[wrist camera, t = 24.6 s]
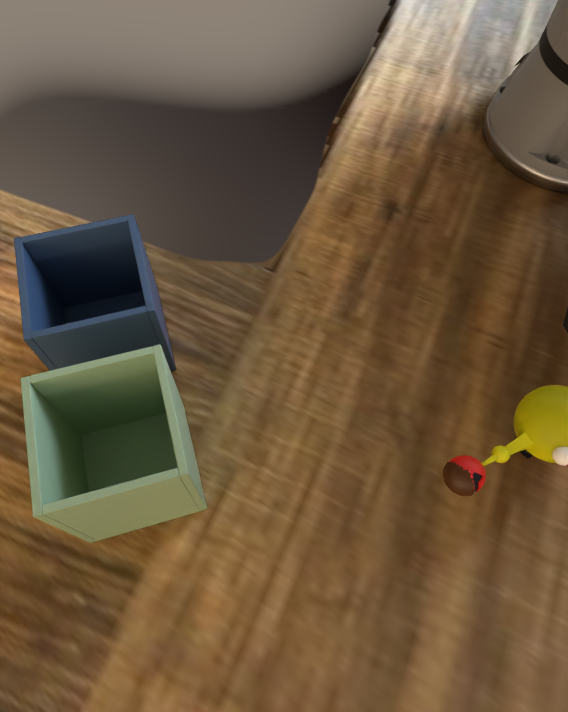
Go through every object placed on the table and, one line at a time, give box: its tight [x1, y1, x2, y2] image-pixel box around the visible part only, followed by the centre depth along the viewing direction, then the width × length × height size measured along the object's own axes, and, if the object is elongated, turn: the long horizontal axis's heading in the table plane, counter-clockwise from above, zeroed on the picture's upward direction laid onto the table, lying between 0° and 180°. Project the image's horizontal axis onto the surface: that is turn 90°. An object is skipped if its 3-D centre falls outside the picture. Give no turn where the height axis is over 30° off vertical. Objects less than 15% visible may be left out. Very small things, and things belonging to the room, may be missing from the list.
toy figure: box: [443, 385, 568, 496], centre depth 37 cm, size 18×6×7 cm, turn 118°
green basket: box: [21, 345, 207, 543], centre depth 34 cm, size 8×8×10 cm
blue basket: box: [14, 215, 176, 371], centre depth 39 cm, size 8×8×9 cm
